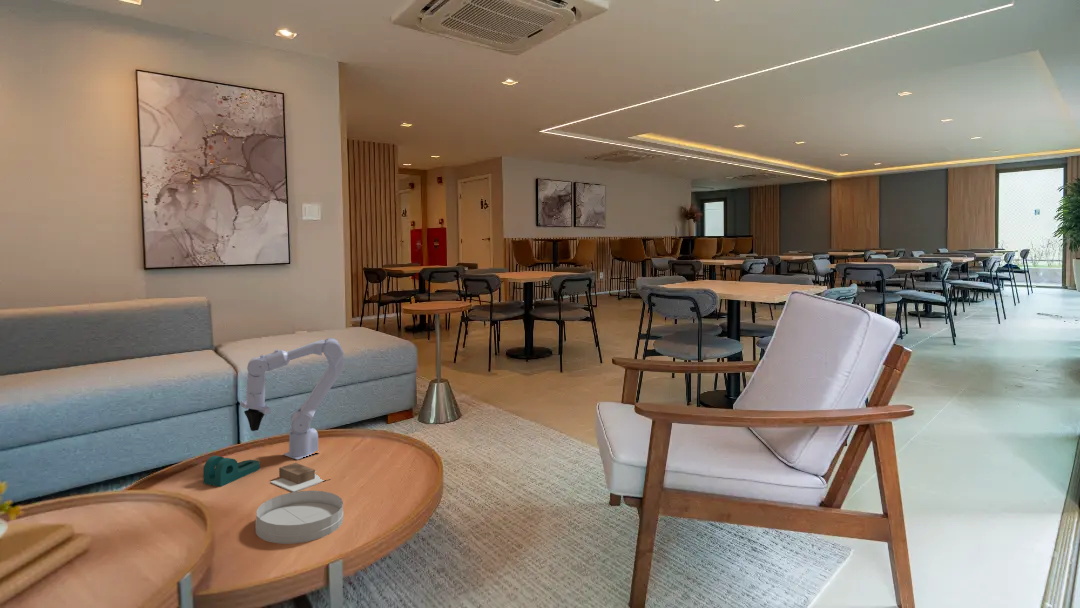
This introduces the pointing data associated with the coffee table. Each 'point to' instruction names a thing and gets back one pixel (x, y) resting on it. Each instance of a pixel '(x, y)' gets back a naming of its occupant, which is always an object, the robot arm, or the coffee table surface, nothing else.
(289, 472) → the walnut block
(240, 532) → the coffee table surface
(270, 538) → the dish
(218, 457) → the bracket
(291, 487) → the grey mat
